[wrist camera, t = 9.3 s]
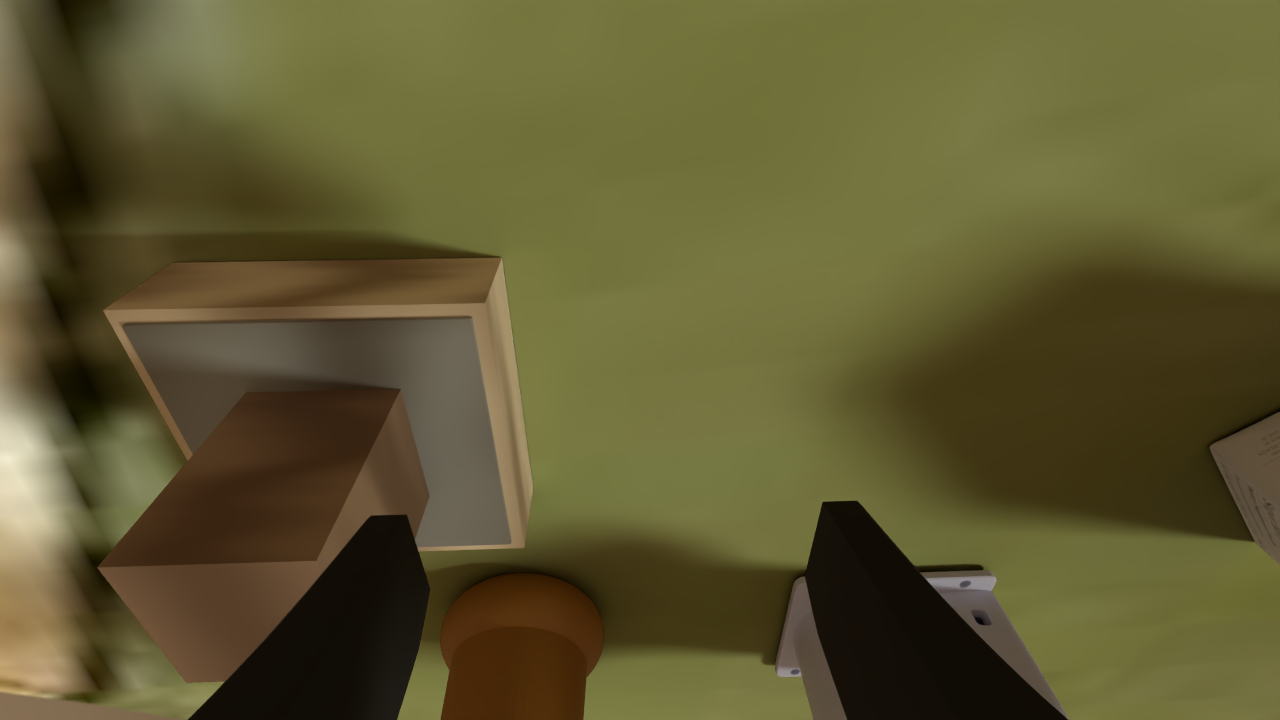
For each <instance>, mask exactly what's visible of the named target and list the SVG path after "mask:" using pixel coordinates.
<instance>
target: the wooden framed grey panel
mask: <svg viewBox="0 0 1280 720" xmlns="http://www.w3.org/2000/svg"><path fill="white" fill-rule="evenodd" d="M103 311H104V313H105V315H106V317H107V319H108V320H109V322H110V324H111V326H112V327H113V329H114V331H115V333H116V335H117V336H118V338H119V340H120V342H121V343H122V345H123V347H124V349H125V351H126V352H127V354H128V356H129V358H130V359H131V361H132V363H133V365H134V367H135V368H136V370H137V372H138V374H139V375H140V377H141V379H142V381H143V383H144V384H145V386H146V388H147V390H148V391H149V393H150V395H151V397H152V399H153V400H154V402H155V404H156V406H157V407H158V409H159V411H160V413H161V415H162V416H163V418H164V420H165V422H166V423H167V425H168V427H169V429H170V431H171V432H172V434H173V436H174V438H175V439H176V441H177V443H178V445H179V447H180V448H181V450H182V452H183V454H184V455H185V457H186V459H187V461H188V460H189V459H190V458H191V457H192V455H193V454H194V453H195V452H196V451H197V449H198V448H199V447H200V446H201V445H202V444H203V442H204V441H205V440H206V439H207V438H208V437H209V435H210V434H211V433H212V432H213V431H214V429H215V428H216V427H217V426H218V425H219V424H220V422H221V421H222V420H223V419H224V418H225V417H226V415H227V414H228V413H229V412H230V411H231V409H232V408H233V407H234V406H235V405H236V404H237V402H238V401H239V400H240V399H241V398H242V396H243V395H244V394H245V393H246V392H286V391H334V390H382V389H401V391H402V395H403V399H404V403H405V406H406V410H407V414H408V417H409V421H410V425H411V429H412V432H413V436H414V440H415V443H416V447H417V451H418V455H419V458H420V462H421V466H422V469H423V473H424V477H425V481H426V484H427V488H428V492H429V496H430V497H429V500H428V503H427V506H426V509H425V512H424V514H423V517H422V520H421V523H420V526H419V529H418V532H417V535H416V538H415V542H416V545H417V548H418V551H444V550H475V549H506V548H524V546H525V539H526V532H527V525H528V518H529V512H530V505H531V498H532V491H533V483H532V476H531V469H530V461H529V454H528V447H527V439H526V432H525V424H524V417H523V410H522V402H521V395H520V388H519V380H518V373H517V366H516V358H515V351H514V344H513V336H512V329H511V322H510V314H509V307H508V300H507V292H506V285H505V277H504V270H503V263H502V258H447V259H382V260H318V261H253V262H188V263H171V264H170V265H168V266H167V267H165V268H164V269H162V270H161V271H159V272H158V273H156V274H155V275H153V276H152V277H151V278H149V279H148V280H146V281H145V282H143V283H142V284H140V285H139V286H137V287H136V288H134V289H133V290H132V291H130V292H129V293H127V294H126V295H124V296H123V297H121V298H120V299H118V300H117V301H115V302H114V303H113V304H111V305H110V306H108V307H107V308H105V309H104V310H103Z"/></svg>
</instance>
